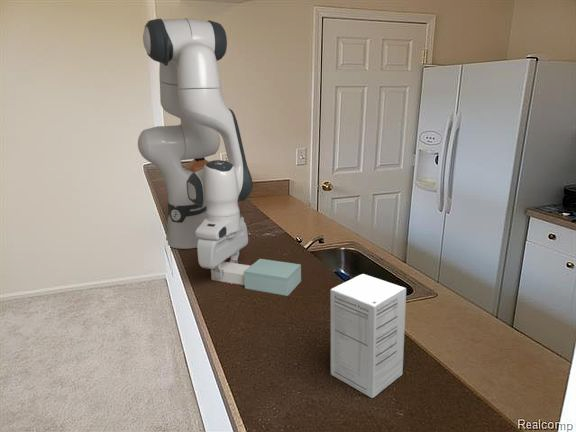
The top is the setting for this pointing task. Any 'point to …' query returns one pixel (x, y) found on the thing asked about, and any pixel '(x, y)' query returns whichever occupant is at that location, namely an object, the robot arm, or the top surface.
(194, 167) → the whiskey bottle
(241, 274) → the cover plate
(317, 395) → the top surface
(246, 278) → the case
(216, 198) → the robot arm
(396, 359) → the supplement box
